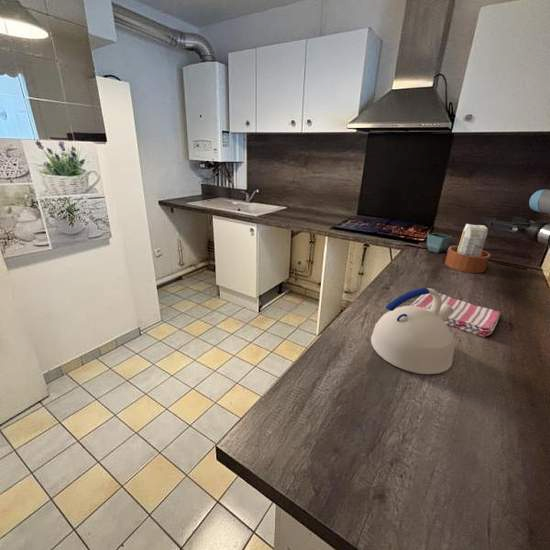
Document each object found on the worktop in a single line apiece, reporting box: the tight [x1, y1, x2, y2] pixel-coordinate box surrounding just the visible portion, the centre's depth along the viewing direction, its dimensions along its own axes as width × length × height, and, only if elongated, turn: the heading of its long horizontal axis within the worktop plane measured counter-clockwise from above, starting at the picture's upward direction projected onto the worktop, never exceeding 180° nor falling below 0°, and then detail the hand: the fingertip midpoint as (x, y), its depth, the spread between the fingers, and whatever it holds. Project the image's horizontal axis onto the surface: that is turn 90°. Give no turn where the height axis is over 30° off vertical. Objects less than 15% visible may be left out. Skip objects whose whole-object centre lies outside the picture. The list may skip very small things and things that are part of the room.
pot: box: [444, 245, 491, 274], centre depth 137 cm, size 17×17×8 cm
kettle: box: [370, 287, 456, 375], centre depth 75 cm, size 20×21×18 cm
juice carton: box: [457, 223, 489, 257], centre depth 134 cm, size 8×9×19 cm
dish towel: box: [409, 292, 502, 338], centre depth 95 cm, size 17×23×4 cm
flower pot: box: [426, 232, 452, 254], centre depth 156 cm, size 9×9×9 cm
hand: (497, 219), depth 120 cm, fingers open, 13 cm apart
